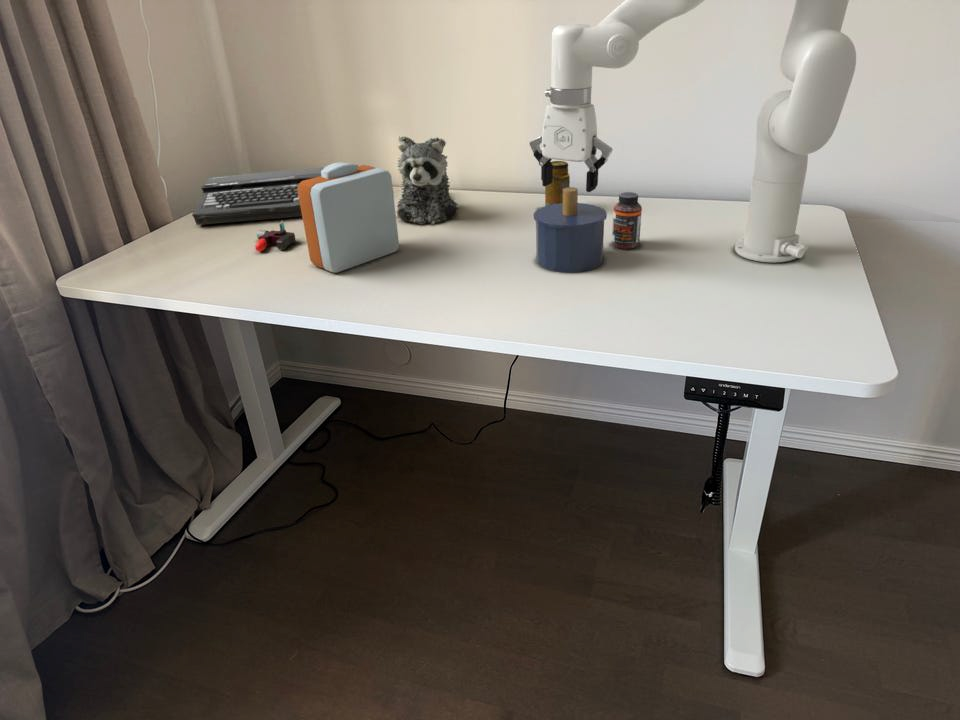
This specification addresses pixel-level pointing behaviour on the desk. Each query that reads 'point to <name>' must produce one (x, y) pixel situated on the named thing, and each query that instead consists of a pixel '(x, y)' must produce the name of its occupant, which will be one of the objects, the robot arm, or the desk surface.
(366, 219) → the alarm clock
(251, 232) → the desk surface
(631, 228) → the supplement bottle
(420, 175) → the raccoon plush
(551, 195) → the condiment
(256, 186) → the vintage computer
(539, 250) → the tin
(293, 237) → the toy gun
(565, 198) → the tin lid
